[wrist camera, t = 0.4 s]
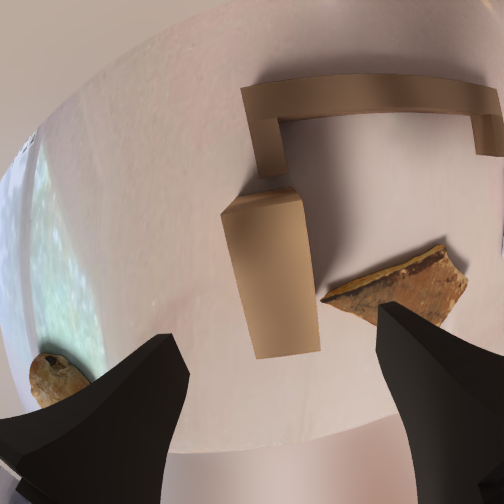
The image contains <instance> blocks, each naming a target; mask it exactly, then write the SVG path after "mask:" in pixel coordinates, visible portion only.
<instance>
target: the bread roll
mask: <svg viewBox="0 0 504 504" xmlns="http://www.w3.org/2000/svg"><path fill="white" fill-rule="evenodd" d="M29 379H30V384H31V393H32V395H33V397H34V398H36V400H37V402H38V404H39V405H40V406H41V408H45V407H48V406H50V405H52V404H54V403H57V402H59V401H61V400H63V399H65V398H67V397H69V396H71V395H73V394H75V393H76V392H78V391H80V390H82V389H83V388H85V387H86V386H88V385H90V383H89V381H88V380H87V379H86V377H85V376H84V375H83V374H82V373H81V372H80V371H79V370H78V369H77V368H76V367H75V366H74V365H72V364H71V363H70V362H69V361H68V359H67V358H65V357H63V356H60V355H54V354H47V353H42V354H39V355H38V356H37V357H36V358H35V359H34V360H33V362H32V364H31V367H30V374H29Z"/></svg>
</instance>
